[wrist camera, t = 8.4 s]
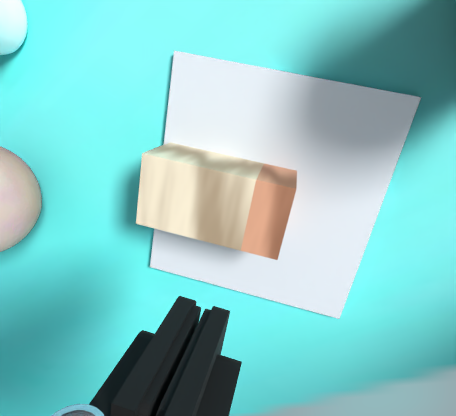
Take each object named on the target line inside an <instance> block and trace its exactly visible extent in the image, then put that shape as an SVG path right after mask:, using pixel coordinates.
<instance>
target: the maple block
mask: <svg viewBox="0 0 456 416" xmlns="http://www.w3.org/2000/svg"><path fill="white" fill-rule="evenodd" d="M296 189H297V171H296V170H291V169H287V168H282V167H278V166H273V165H269V164H265V163H260V162H256V161H251V160H247V159H242V158H238V157H233V156H229V155H224V154H220V153H215V152H211V151H206V150H202V149H197V148H193V147H189V146H184V145H180V144H175V143H171V142H170V143H167V144H164V145H162V146H159V147H157V148H154V149H152V150H149V151H147V152H144V153H142V161H141V172H140V184H139V195H138V206H137V217H136V224H139V225H143V226H147V227H151V228H155V229H159V230H163V231H166V232H170V233H174V234H178V235H182V236H186V237H190V238H194V239H197V240H201V241H205V242H209V243H213V244H217V245H221V246H224V247H228V248H232V249H236V250H240V251H244V252H248V253H252V254H255V255H259V256H263V257H267V258H271V259H275V260H278V256H279V252H280V249H281V245H282V241H283V237H284V234H285V230H286V226H287V223H288V219H289V215H290V211H291V208H292V204H293V200H294V196H295V193H296Z"/></svg>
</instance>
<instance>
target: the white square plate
mask: <svg viewBox="0 0 456 416" xmlns="http://www.w3.org/2000/svg"><path fill="white" fill-rule="evenodd" d="M420 99H421V97H417V96H412V95H406V94H401V93H396V92H391V91H385V90H380V89H375V88H369V87H364V86H359V85H353V84H348V83H343V82H337V81H332V80H327V79H321V78H316V77H311V76H306V75H300V74H295V73H290V72H284V71H279V70H274V69H268V68H263V67H258V66H252V65H247V64H242V63H237V62H231V61H226V60H221V59H215V58H210V57H205V56H199V55H194V54H189V53H183V52H178V51H174V57H173V65H172V74H171V83H170V92H169V101H168V110H167V119H166V128H165V137H164V144H167V143H170V142H171V143H175V144H180V145H184V146H189V147H193V148H197V149H202V150H206V151H211V152H215V153H220V154H224V155H229V156H233V157H238V158H242V159H247V160H251V161H256V162H260V163H265V164H269V165H273V166H278V167H282V168H287V169H291V170H296V171H297V189H296V193H295V196H294V200H293V204H292V208H291V211H290V215H289V219H288V223H287V226H286V230H285V234H284V237H283V241H282V245H281V249H280V252H279V256H278V260H275V259H271V258H267V257H263V256H259V255H255V254H252V253H248V252H244V251H240V250H236V249H232V248H228V247H224V246H221V245H217V244H213V243H209V242H205V241H201V240H197V239H194V238H190V237H186V236H182V235H178V234H174V233H170V232H166V231H163V230H159V229H155V228H154V235H153V244H152V253H151V262H150V267H152V268H155V269H159V270H163V271H166V272H170V273H174V274H177V275H181V276H185V277H188V278H192V279H196V280H199V281H203V282H207V283H210V284H214V285H218V286H221V287H225V288H228V289H232V290H236V291H239V292H243V293H247V294H250V295H254V296H258V297H261V298H265V299H269V300H272V301H276V302H280V303H283V304H287V305H291V306H294V307H298V308H302V309H305V310H309V311H312V312H316V313H320V314H323V315H327V316H331V317H334V318H338V319H339V318H340V316H341V313H342V310H343V308H344V305H345V302H346V299H347V297H348V294H349V291H350V289H351V286H352V283H353V280H354V278H355V275H356V272H357V270H358V267H359V264H360V262H361V259H362V256H363V253H364V251H365V248H366V245H367V243H368V240H369V237H370V235H371V232H372V229H373V226H374V224H375V221H376V218H377V216H378V213H379V210H380V208H381V205H382V202H383V199H384V197H385V194H386V191H387V189H388V186H389V183H390V181H391V178H392V175H393V172H394V170H395V167H396V164H397V162H398V159H399V156H400V153H401V151H402V148H403V145H404V143H405V140H406V137H407V135H408V132H409V129H410V126H411V124H412V121H413V118H414V116H415V113H416V110H417V108H418V105H419V102H420Z"/></svg>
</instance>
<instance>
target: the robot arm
mask: <svg viewBox="0 0 456 416" xmlns="http://www.w3.org/2000/svg"><path fill="white" fill-rule="evenodd" d="M200 312H201V307H198V306H196V301H195V300H192V299H188V298H185V297H181V296H179V297H178V298H177V300H176V301H175V303H174V305H173V306H172V308H171V309H170V311H169V312H168V314H167V316H166V317H165V319H164V320H163V322H162V324H161V325H160V327H159V328H158V330H157V332H156V333H155V334H153V333H150V332H147V331H144V330H142V331H141V332H140V333H139V334H138V335H137V337H136V338H135V339H134V341H133V342H132V344H131V345H130V347H129V348H128V349H127V351H126V352H125V354H124V355H123V357H122V358H121V359H120V361H119V362H118V364H117V365H116V367H115V368H114V369H113V371H112V372H111V374H110V375H109V377H108V378H107V379H106V381H105V382H104V384H103V385H102V387H101V388H100V390H99V391H98V392H97V394H96V395H95V397H94V398H93V400H92V401H91V402H90V404H89V405H88V404H76V405H71V406H67V407H65V408H63V409H61V410H59V411H57V412H56V413H54V414H53V415H52V416H229V412H230V408H231V404H232V400H233V396H234V392H235V388H236V384H237V379H238V375H239V371H240V367H241V363H242V362H241V361H237V360H234V359H231V358H228V357H225V356H222V355H220V354H221V350H222V346H223V341H224V337H225V332H226V328H227V323H228V319H229V314H230V311H228V310H225V309H222V308H218V307H215V306H213V308H212V310H208V309H205V311H204V313H203V315H202V317H201V319H200V321H199V317H200Z"/></svg>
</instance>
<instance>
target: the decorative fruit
mask: <svg viewBox="0 0 456 416" xmlns="http://www.w3.org/2000/svg"><path fill="white" fill-rule="evenodd" d="M41 207H42V197H41V190H40V187H39V184H38V181H37V179H36V177H35V175H34V173H33V172H32V170H31V169H30V168H29V166H28V165H27V164H26V163H25V162H24V161H23V160H22V159H21V158H20V157H18V156H17V155H16V154H14V153H13V152H11V151H9V150H7V149H5V148H3V147H0V252H1V251H4V250H7V249H9V248H11V247H13V246H14V245H16V244H17V243H19V242H20V241H21V240H22V239H23V238H25V237H26V235H27V234H28V233H29V232H30V231H31V230H32V228H33V227H34V225H35V224H36V222H37V219H38V217H39V215H40V212H41Z"/></svg>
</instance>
